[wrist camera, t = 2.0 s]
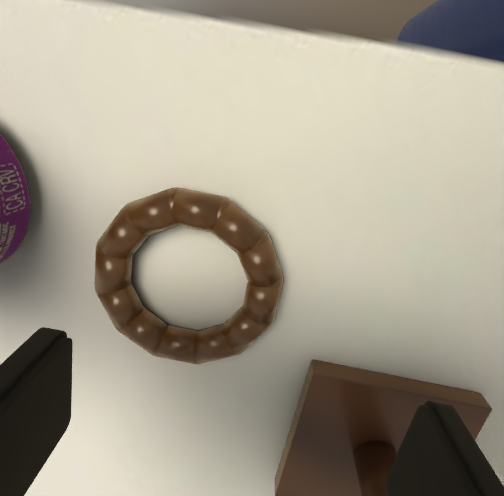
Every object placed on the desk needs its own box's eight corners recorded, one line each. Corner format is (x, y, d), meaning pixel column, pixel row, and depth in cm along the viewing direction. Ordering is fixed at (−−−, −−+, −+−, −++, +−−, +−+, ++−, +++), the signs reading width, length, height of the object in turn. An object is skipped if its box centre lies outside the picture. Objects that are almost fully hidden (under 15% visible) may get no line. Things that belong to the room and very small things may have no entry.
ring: (108, 169, 14) (91, 175, 13) (299, 208, 14) (301, 218, 13) (101, 331, 17) (86, 349, 16) (261, 363, 17) (259, 384, 16)
